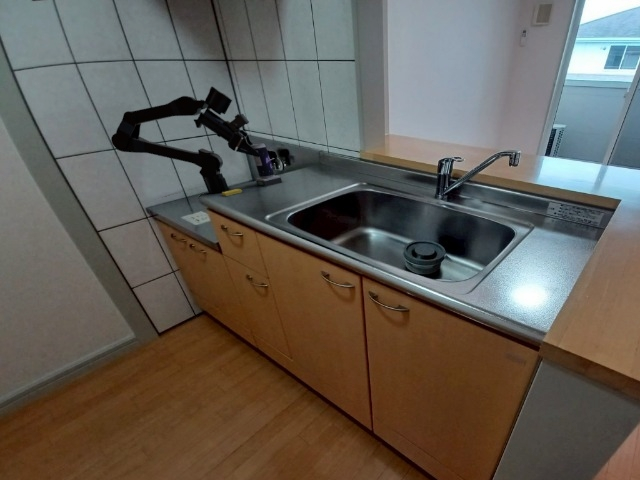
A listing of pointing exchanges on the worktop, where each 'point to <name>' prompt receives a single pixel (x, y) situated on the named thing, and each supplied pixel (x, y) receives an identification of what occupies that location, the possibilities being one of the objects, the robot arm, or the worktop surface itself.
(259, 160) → the beverage can
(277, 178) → the kitchen scale
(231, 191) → the sponge
